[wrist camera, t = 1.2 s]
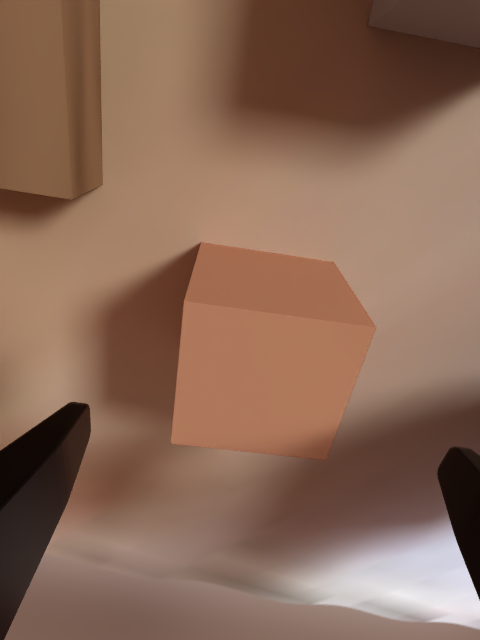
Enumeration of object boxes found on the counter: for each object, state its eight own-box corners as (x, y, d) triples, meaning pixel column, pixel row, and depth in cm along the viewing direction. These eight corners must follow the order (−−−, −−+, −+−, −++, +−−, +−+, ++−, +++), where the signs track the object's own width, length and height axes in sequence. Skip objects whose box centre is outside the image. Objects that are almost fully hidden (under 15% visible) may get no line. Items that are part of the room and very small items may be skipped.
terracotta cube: (333, 261, 14) (376, 327, 10) (302, 368, 16) (325, 460, 12) (201, 241, 14) (183, 301, 9) (189, 354, 16) (170, 443, 12)
